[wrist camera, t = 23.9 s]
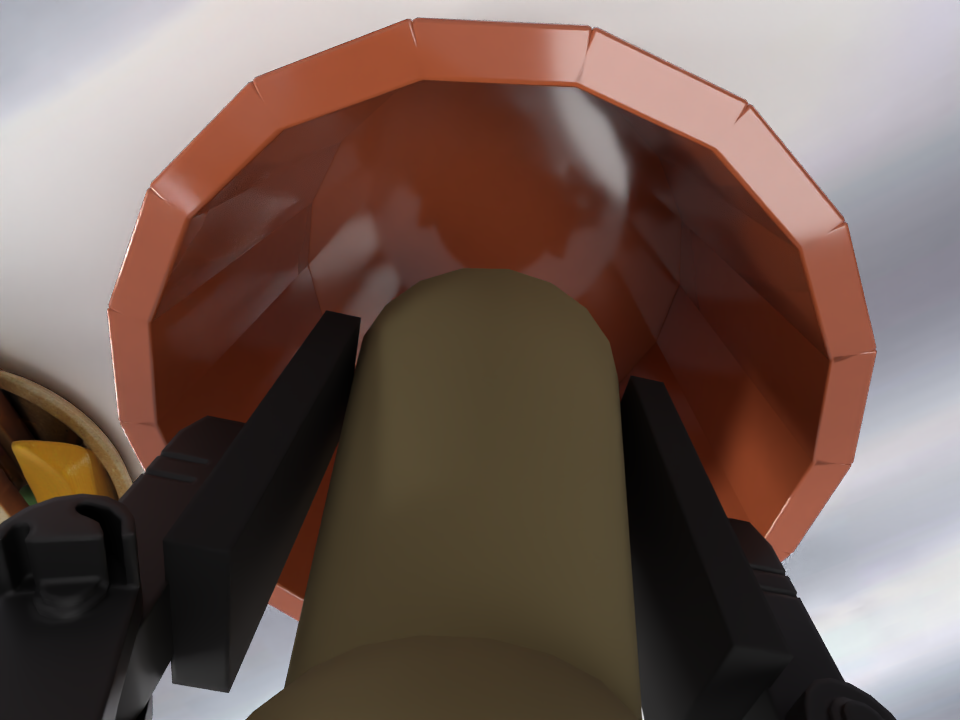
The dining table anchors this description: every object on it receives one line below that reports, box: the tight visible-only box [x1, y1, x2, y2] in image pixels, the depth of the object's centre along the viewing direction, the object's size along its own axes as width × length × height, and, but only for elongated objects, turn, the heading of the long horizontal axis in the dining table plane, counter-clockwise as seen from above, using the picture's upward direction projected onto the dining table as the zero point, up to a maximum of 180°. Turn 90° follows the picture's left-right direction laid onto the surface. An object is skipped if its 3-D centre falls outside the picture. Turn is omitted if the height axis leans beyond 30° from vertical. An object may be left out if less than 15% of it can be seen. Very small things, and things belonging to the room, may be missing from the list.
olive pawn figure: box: [246, 268, 642, 720], centre depth 8 cm, size 6×6×11 cm
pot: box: [107, 18, 877, 621], centre depth 16 cm, size 15×15×10 cm
